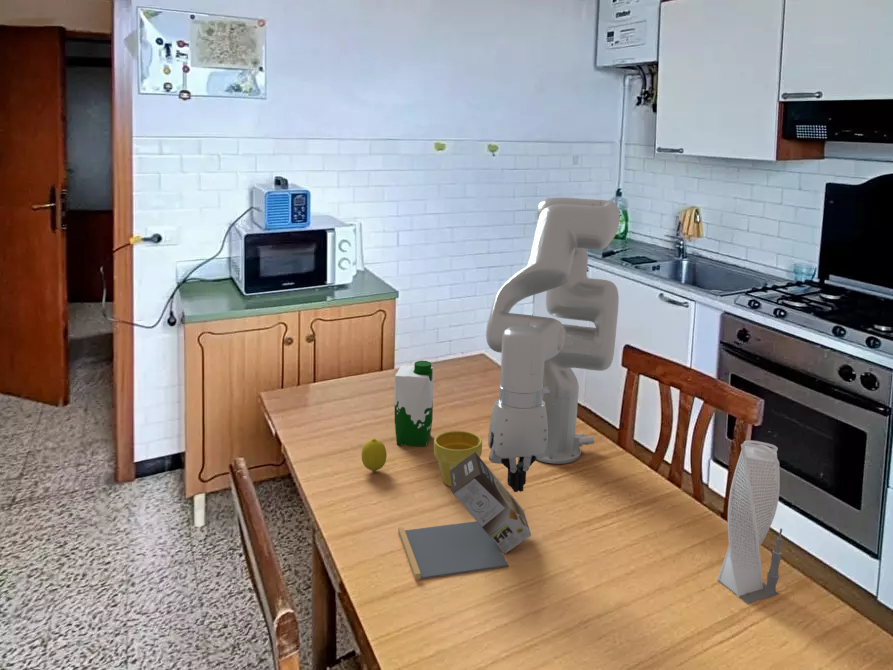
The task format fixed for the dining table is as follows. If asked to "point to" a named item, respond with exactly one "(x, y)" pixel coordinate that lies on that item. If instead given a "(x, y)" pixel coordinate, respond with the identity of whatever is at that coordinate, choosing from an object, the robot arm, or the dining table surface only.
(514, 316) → the robot arm
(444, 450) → the plant pot
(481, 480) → the coffee box
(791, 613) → the dining table surface
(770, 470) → the skyscraper
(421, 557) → the mat
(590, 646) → the dining table surface
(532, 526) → the dining table surface
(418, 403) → the milk carton
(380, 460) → the lemon
